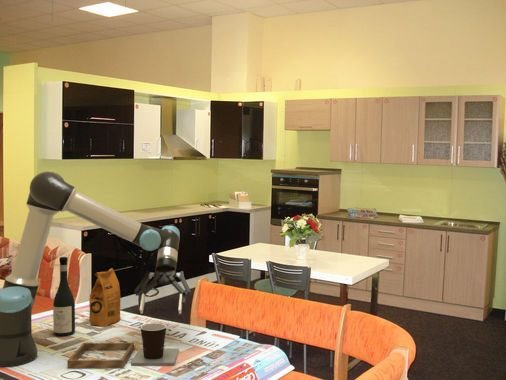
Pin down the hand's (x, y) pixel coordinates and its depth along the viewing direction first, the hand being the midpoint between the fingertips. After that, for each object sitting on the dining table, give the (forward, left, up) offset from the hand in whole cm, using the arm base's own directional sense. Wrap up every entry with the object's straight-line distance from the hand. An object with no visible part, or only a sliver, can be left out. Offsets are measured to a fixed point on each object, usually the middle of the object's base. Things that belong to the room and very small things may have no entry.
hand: (160, 311), depth 190 cm
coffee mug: (-1, -7, -13) cm, 15 cm away
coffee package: (-29, +36, -14) cm, 48 cm away
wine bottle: (-41, +21, -14) cm, 48 cm away
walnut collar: (-19, -7, -14) cm, 24 cm away
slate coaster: (-1, -7, -14) cm, 16 cm away
